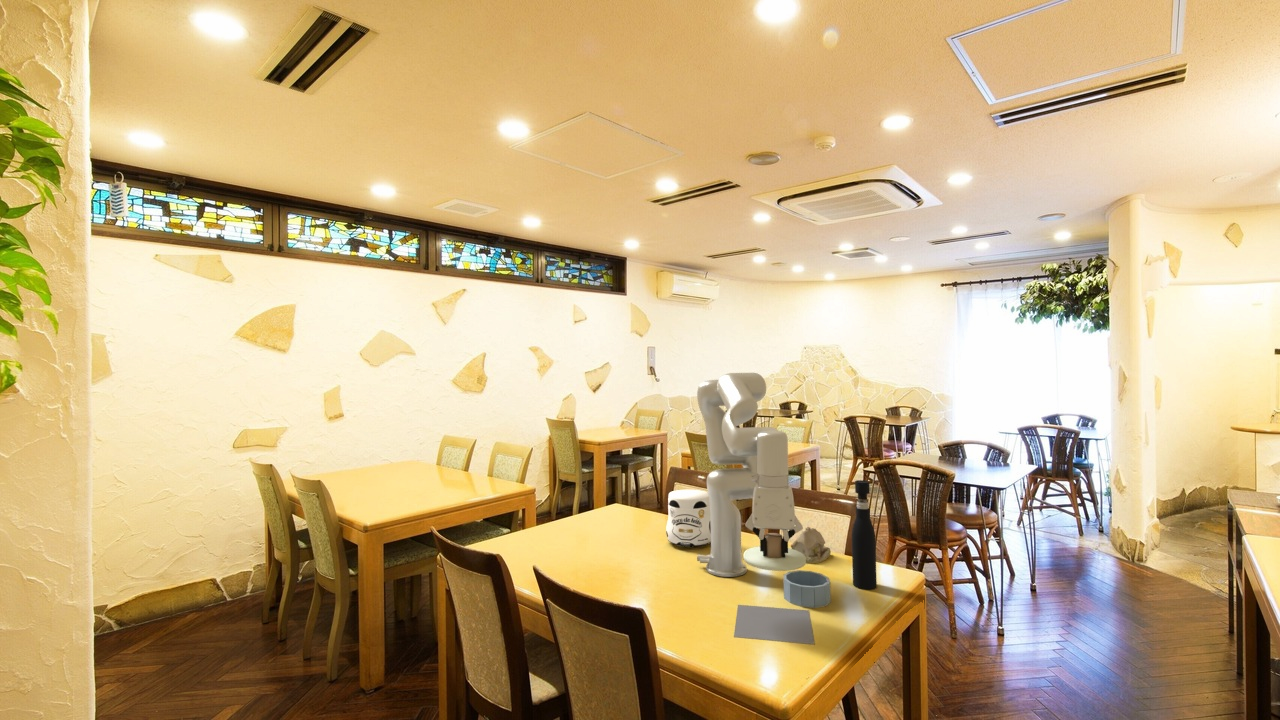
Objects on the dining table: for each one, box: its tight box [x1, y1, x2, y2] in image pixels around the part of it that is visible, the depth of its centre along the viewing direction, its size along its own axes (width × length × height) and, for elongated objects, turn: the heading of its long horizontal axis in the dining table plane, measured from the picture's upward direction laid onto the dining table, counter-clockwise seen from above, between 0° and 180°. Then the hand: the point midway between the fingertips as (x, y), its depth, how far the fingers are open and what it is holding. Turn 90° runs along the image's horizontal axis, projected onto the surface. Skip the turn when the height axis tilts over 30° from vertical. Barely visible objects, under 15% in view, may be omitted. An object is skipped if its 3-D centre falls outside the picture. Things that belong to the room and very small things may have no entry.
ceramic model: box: [790, 526, 832, 564], centre depth 184 cm, size 14×11×10 cm
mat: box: [733, 604, 816, 645], centre depth 134 cm, size 18×18×1 cm
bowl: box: [783, 569, 832, 609], centre depth 149 cm, size 12×12×6 cm
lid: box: [742, 532, 807, 572], centre depth 136 cm, size 15×15×6 cm
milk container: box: [665, 489, 711, 548], centre depth 200 cm, size 17×17×18 cm
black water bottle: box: [851, 479, 878, 591], centre depth 159 cm, size 6×6×30 cm
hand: (774, 554), depth 136 cm, fingers closed on lid, 4 cm apart
